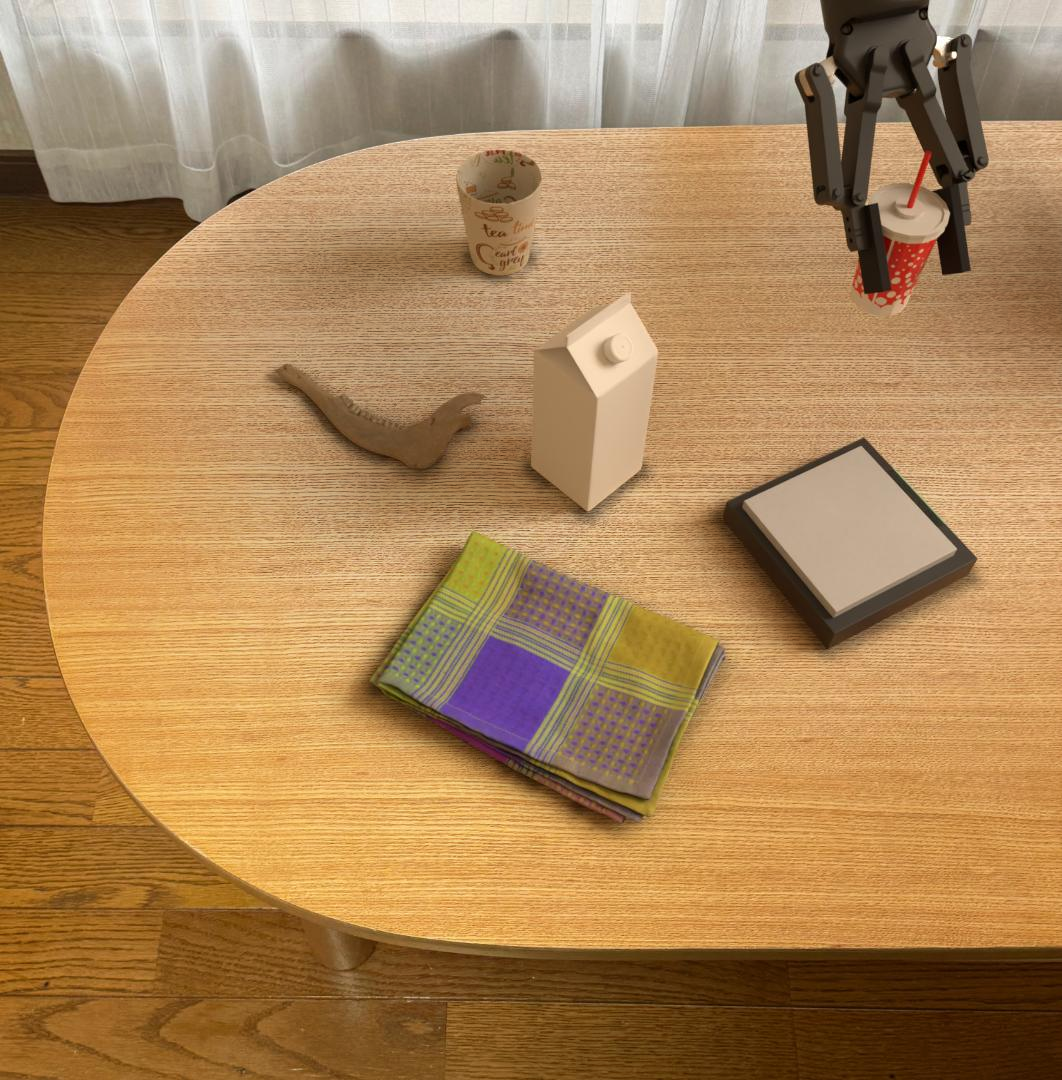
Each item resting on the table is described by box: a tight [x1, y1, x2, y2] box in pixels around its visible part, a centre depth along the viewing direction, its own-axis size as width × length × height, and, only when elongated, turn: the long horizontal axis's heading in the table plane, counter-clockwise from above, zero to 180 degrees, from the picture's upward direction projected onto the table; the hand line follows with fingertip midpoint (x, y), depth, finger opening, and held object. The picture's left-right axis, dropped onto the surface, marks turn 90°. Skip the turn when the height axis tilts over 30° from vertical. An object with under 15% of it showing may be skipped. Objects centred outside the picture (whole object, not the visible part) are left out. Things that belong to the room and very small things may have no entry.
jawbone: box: [274, 363, 487, 470], centre depth 107 cm, size 9×20×2 cm, turn 78°
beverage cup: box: [849, 151, 950, 318], centre depth 90 cm, size 6×6×14 cm
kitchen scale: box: [721, 437, 979, 650], centre depth 99 cm, size 15×15×4 cm
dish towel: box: [368, 530, 727, 825], centre depth 92 cm, size 18×24×3 cm
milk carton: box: [530, 291, 659, 512], centre depth 98 cm, size 7×7×19 cm
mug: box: [455, 149, 543, 276], centre depth 118 cm, size 8×13×10 cm, turn 166°
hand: (917, 282), depth 90 cm, fingers closed on beverage cup, 6 cm apart
